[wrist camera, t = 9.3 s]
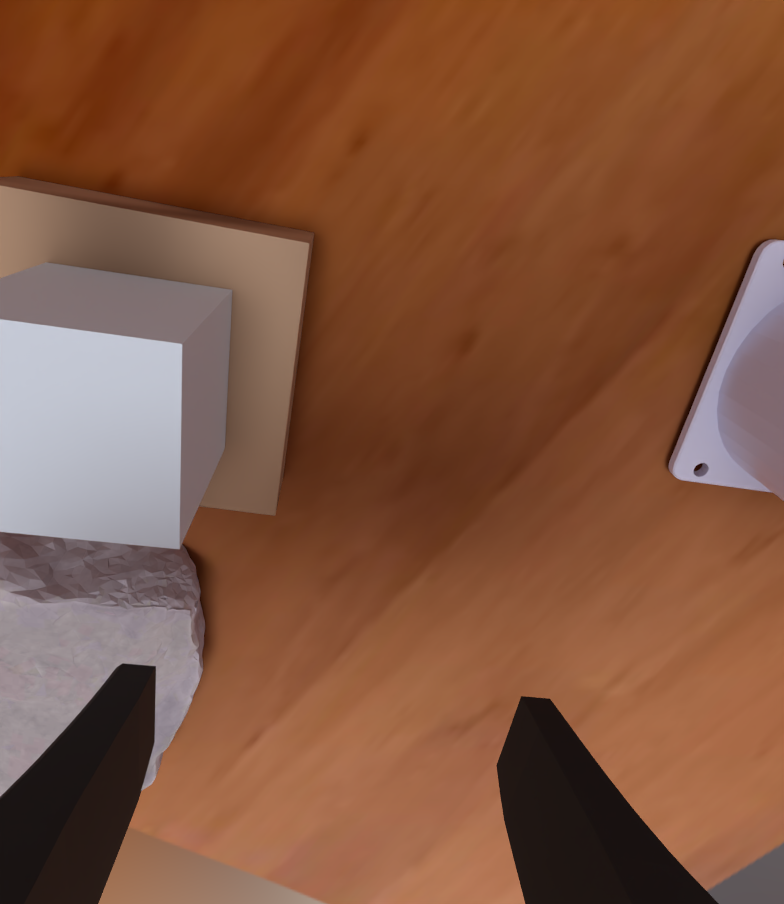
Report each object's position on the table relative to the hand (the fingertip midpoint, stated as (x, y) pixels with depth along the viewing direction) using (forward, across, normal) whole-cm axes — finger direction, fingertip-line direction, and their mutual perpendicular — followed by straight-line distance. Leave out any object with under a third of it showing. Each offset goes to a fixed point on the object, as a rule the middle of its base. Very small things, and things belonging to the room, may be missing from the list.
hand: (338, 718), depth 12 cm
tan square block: (+10, +6, -4) cm, 13 cm away
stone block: (+10, +9, +8) cm, 16 cm away
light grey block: (+7, +6, -4) cm, 10 cm away
